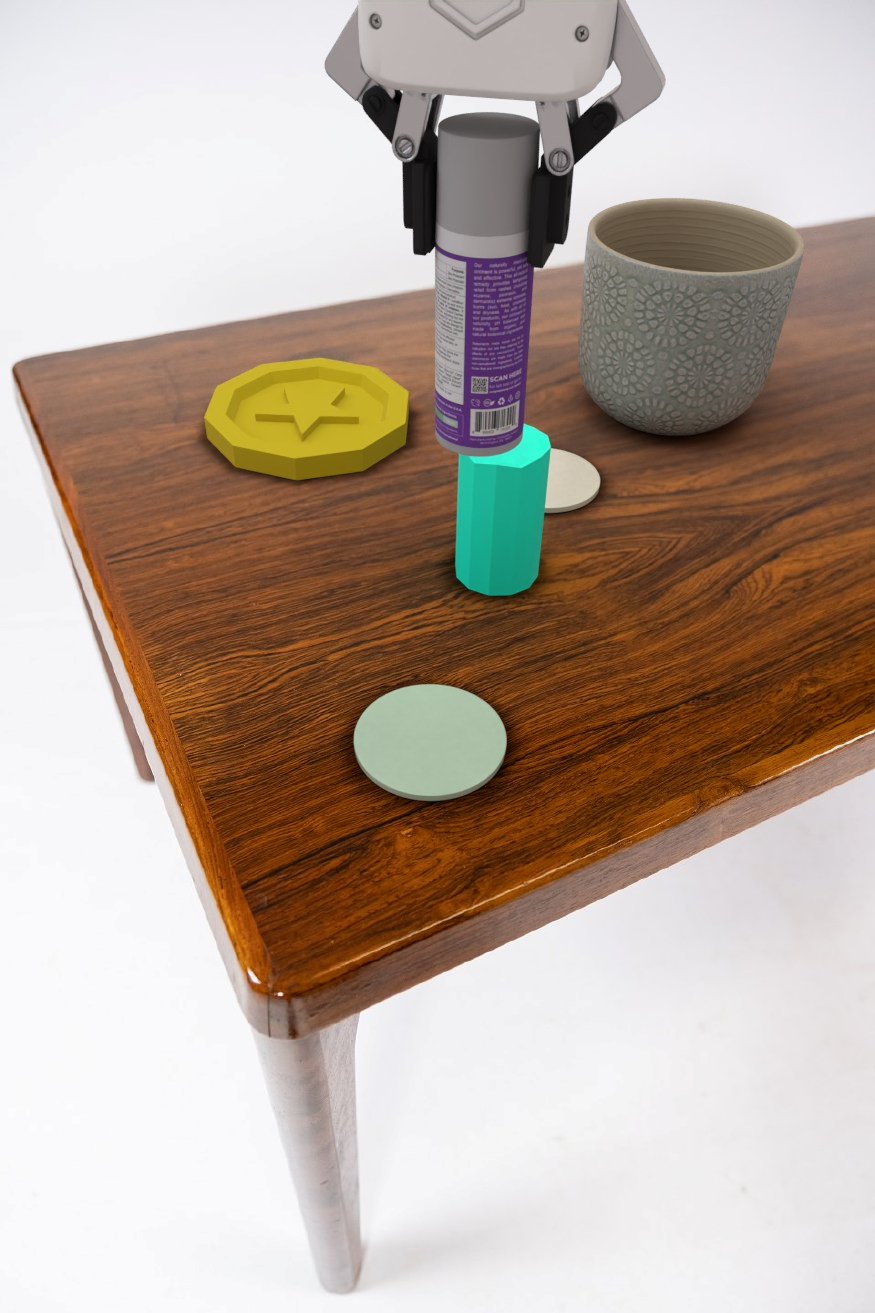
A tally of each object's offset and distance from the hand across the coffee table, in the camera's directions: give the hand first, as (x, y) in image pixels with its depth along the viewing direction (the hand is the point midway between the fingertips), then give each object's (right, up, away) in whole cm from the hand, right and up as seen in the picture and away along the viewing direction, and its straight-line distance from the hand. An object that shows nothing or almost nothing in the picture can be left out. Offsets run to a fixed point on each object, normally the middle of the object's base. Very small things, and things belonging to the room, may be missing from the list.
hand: (485, 247), depth 47 cm
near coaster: (-3, -24, +13) cm, 27 cm away
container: (0, -7, +7) cm, 10 cm away
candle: (+2, -13, +25) cm, 28 cm away
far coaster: (+6, -5, +34) cm, 35 cm away
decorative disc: (-13, +1, +40) cm, 42 cm away
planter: (+18, +3, +43) cm, 47 cm away
